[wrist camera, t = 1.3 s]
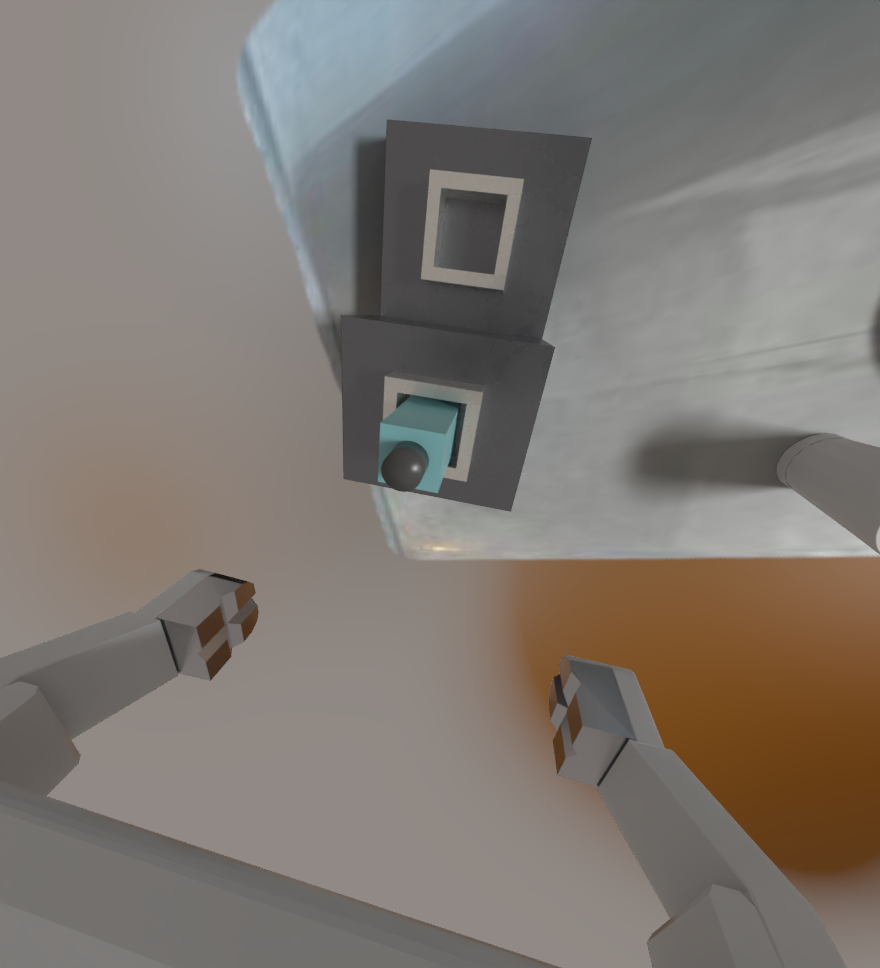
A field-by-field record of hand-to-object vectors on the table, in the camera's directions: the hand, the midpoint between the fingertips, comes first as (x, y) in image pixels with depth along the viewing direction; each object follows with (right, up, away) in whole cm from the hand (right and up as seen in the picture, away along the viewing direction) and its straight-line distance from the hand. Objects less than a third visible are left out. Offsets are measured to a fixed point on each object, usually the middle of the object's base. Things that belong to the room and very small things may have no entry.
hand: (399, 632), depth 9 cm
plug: (+1, +9, +19) cm, 21 cm away
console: (+3, +20, +26) cm, 33 cm away
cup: (+41, +6, +27) cm, 49 cm away
